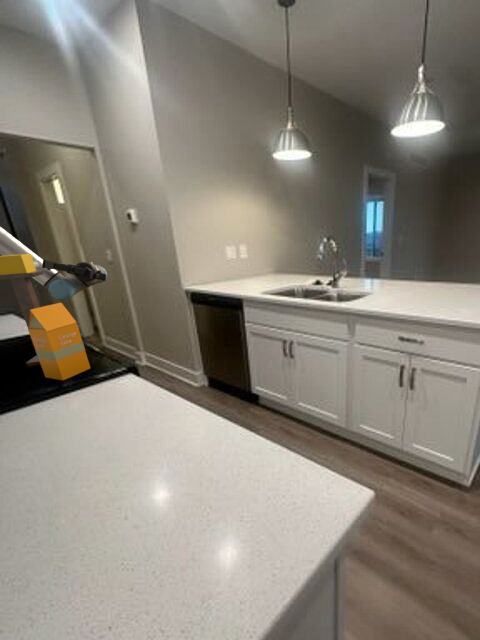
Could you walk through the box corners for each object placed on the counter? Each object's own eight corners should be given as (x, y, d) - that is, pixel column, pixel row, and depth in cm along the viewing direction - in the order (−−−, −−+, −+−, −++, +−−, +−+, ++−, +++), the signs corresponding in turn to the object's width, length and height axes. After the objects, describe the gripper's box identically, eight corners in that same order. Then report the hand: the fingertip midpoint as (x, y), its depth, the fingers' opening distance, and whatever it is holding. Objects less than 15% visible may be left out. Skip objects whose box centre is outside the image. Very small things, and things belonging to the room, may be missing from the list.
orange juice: (44, 377, 99) (20, 309, 91) (73, 365, 106) (52, 301, 99) (63, 380, 96) (39, 310, 88) (91, 368, 103) (71, 302, 96)
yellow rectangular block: (-1, 275, 98) (-8, 257, 96) (23, 269, 111) (18, 253, 109) (27, 273, 99) (20, 255, 97) (48, 267, 112) (43, 251, 110)
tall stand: (27, 366, 108) (-8, 275, 97) (36, 359, 114) (4, 273, 103) (62, 362, 110) (32, 272, 99) (69, 355, 116) (42, 270, 105)
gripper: (52, 254, 133) (25, 248, 113) (122, 271, 140) (108, 267, 120) (50, 273, 134) (22, 270, 114) (120, 289, 141) (105, 289, 121)
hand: (66, 269), depth 117 cm, fingers open, 13 cm apart
